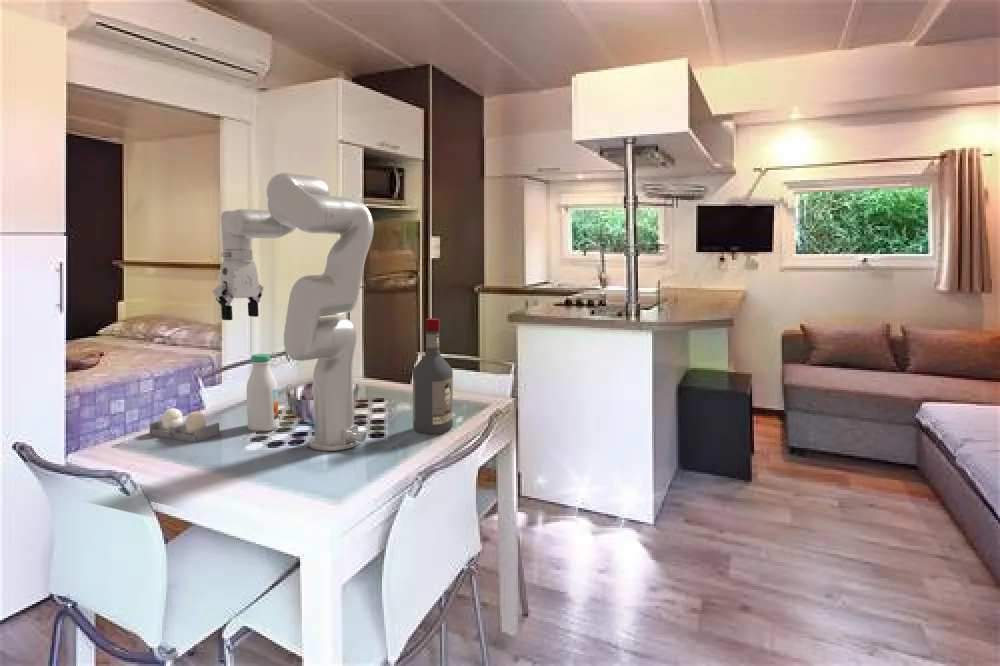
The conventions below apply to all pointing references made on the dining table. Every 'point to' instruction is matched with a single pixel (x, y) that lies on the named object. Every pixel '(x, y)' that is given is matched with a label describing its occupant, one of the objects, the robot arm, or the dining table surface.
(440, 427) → the liquor
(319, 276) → the robot arm
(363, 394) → the dining table surface
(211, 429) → the egg carton
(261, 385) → the milk bottle
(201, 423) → the tan egg
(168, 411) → the cream egg
